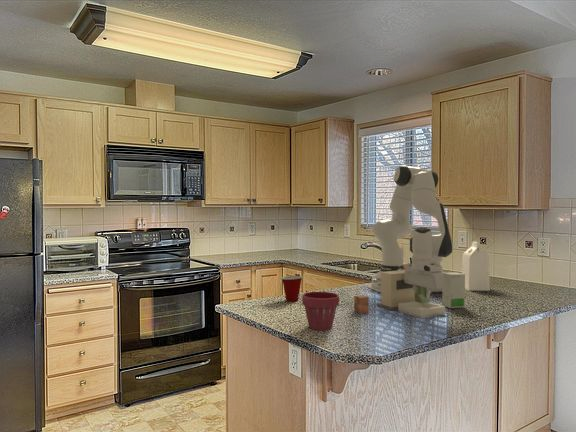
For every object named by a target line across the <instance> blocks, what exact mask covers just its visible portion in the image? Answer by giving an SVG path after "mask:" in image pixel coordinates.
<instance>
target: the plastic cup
mask: <svg viewBox="0 0 576 432" xmlns="http://www.w3.org/2000/svg"><path fill="white" fill-rule="evenodd" d="M280 279H281V282H282V285H283V290H284V296H285V300H286V302H291V303H292V302H293V303H294V302H295V303H296V302H298V300H299V297H300V292H301V286H302V285H301V284H302V280H303V276H302V275H288V276H281V277H280Z"/></svg>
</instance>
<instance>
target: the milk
mask: <svg viewBox="0 0 576 432" xmlns="http://www.w3.org/2000/svg"><path fill="white" fill-rule="evenodd" d="M461 262H462V263H461V273H462V274H465V290H467V291H483V292H485V291H491V287H490V285H491V284H490V282H491V281H490V257H489V255H488V254H487V253H486V252H485V251H484V250H483V249H482V248H481V247H480V243H479V242H478V241H472V242H471V246H470V247H469V248H467V249H466V250H465V251H464V252H463V254H462V261H461Z"/></svg>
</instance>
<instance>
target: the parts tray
mask: <svg viewBox="0 0 576 432" xmlns="http://www.w3.org/2000/svg"><path fill="white" fill-rule="evenodd" d="M397 311H398V312H400V313H401V314H406V315H409V316H413V317H416V318H419V319H426V318H431V317H438V316H443V315H446V307H445V306H443V305H442V304H438V303H433V302H431V301H430V302H429V303H418V302H415V301H412V302H405V303H398V310H397Z"/></svg>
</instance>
